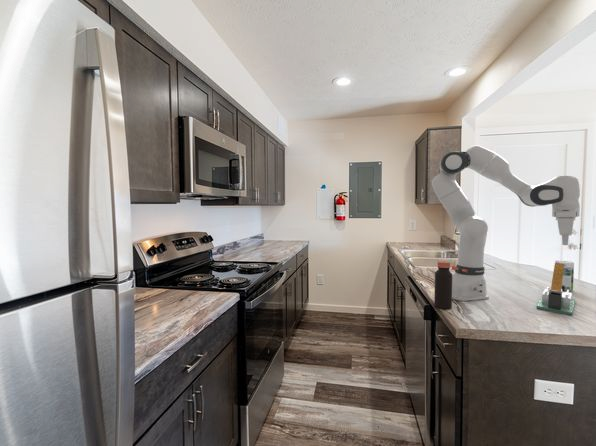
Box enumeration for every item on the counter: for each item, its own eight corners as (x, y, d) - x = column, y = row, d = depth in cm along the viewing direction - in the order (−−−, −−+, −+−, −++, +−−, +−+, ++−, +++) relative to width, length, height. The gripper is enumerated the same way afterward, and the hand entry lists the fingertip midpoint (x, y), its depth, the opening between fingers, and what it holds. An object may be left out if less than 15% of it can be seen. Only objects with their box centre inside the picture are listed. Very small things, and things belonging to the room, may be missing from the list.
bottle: (444, 310, 121) (445, 264, 120) (430, 305, 128) (431, 261, 126) (455, 308, 124) (456, 262, 123) (441, 303, 130) (442, 259, 129)
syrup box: (559, 289, 148) (560, 262, 147) (553, 286, 154) (555, 259, 153) (573, 290, 146) (574, 262, 145) (567, 287, 152) (568, 260, 151)
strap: (561, 295, 119) (561, 293, 118) (549, 293, 122) (549, 291, 121) (565, 265, 128) (565, 263, 128) (553, 264, 131) (553, 262, 131)
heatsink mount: (572, 315, 115) (573, 298, 114) (536, 308, 123) (537, 292, 122) (575, 301, 131) (575, 286, 130) (543, 296, 138) (544, 281, 138)
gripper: (556, 211, 136) (555, 240, 137) (555, 213, 121) (555, 246, 122) (574, 211, 132) (574, 241, 133) (576, 213, 117) (575, 247, 118)
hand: (565, 243), depth 127 cm, fingers open, 8 cm apart
